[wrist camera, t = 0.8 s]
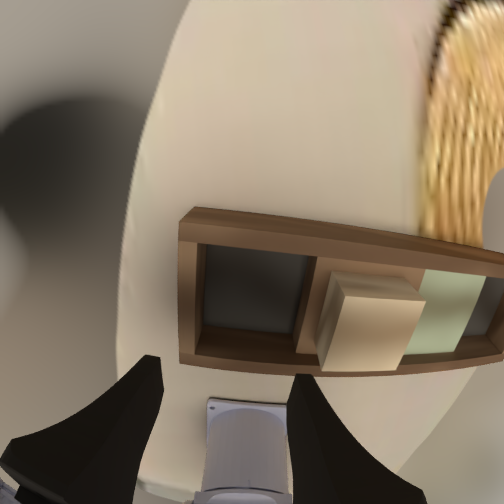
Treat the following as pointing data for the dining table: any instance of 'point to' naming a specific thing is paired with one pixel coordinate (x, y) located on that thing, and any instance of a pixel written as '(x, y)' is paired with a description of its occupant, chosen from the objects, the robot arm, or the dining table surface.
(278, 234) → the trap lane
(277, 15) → the dining table surface
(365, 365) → the maple block
